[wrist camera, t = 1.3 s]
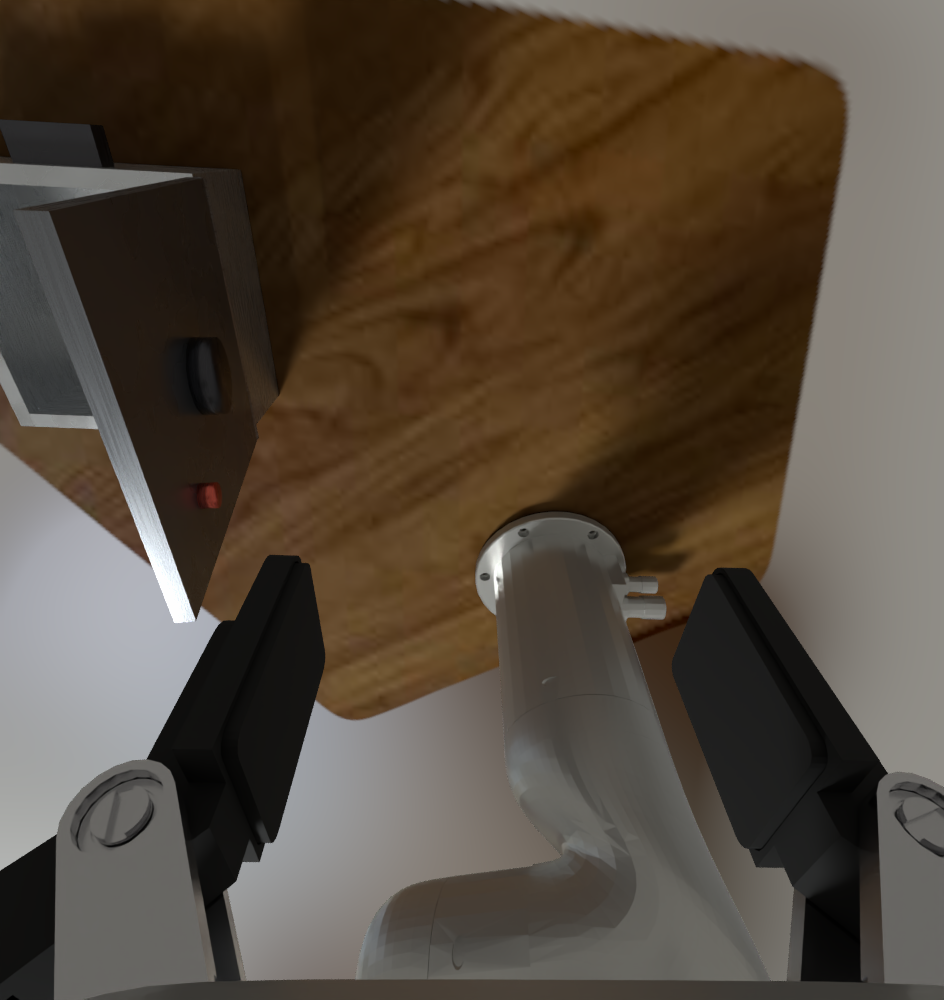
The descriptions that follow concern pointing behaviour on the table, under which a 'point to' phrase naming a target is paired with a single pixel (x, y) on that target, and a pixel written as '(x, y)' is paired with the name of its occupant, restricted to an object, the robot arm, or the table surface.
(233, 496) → the lid
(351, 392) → the table surface
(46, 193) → the cooker pot
